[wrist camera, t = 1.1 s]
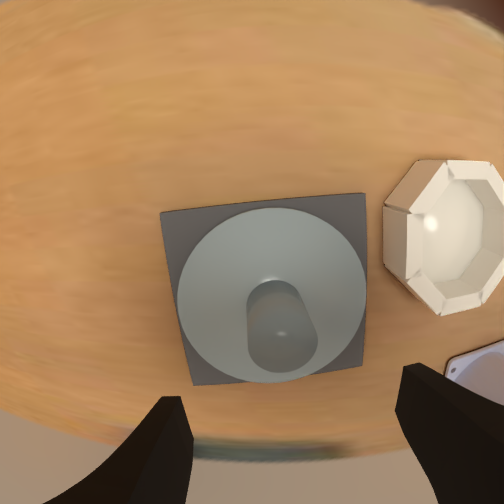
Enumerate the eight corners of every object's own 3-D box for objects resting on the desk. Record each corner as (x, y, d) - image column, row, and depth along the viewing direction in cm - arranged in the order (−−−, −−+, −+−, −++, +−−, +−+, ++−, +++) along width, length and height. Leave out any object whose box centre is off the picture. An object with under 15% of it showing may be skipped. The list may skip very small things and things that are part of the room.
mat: (360, 362, 20) (362, 365, 19) (194, 382, 20) (193, 385, 19) (362, 192, 17) (365, 193, 16) (161, 212, 17) (159, 213, 16)
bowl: (481, 283, 19) (507, 298, 16) (381, 303, 19) (401, 324, 16) (486, 161, 16) (516, 163, 14) (379, 159, 16) (404, 159, 14)
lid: (358, 362, 19) (383, 409, 15) (196, 381, 19) (187, 434, 15) (360, 199, 17) (400, 211, 12) (165, 218, 17) (138, 237, 12)
